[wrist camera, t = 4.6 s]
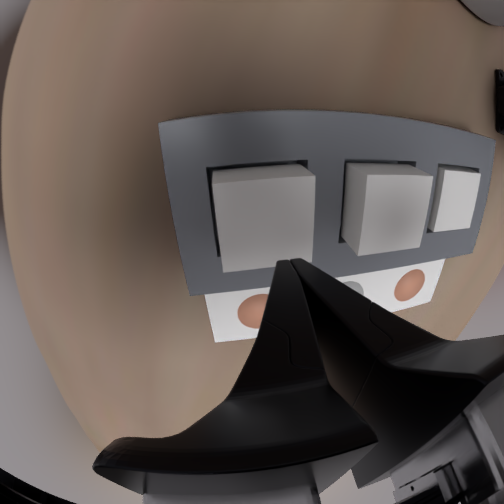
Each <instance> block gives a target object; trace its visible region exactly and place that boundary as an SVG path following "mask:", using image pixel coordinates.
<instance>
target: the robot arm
mask: <svg viewBox="0 0 504 504" xmlns="http://www.w3.org/2000/svg"><path fill="white" fill-rule="evenodd" d="M496 84H497V120H496V130H497V132H498V133H501V134H503V135H504V72H503V71H502V70H499V69H497V70H496ZM371 302H372V301H371V300H370V299H368V298H367V297H365V296H363V295H362V294H360V293H358V292H357V291H355V290H354V289H352V288H350V287H349V286H347V285H345V284H344V283H342V282H340V281H339V280H337V279H336V278H334V277H332V276H331V275H329V274H327V273H326V272H324V271H322V270H321V269H319V268H317V267H316V266H314V265H312V264H311V263H309V262H307V261H306V260H304V259H302V258H295V259H290V260H288V259H286V260H278V261H277V262H276V266H275V270H274V274H273V278H272V282H271V286H270V290H269V294H268V297H267V301H266V305H265V309H264V313H263V317H262V321H261V324H260V328H259V331H258V334H257V337H256V340H255V343H254V345H253V347H252V350H251V352H250V354H249V356H248V358H247V360H246V362H245V365H244V367H243V369H242V371H241V373H240V375H239V377H238V378H237V380H236V382H235V384H234V386H233V388H232V390H231V391H230V393H229V395H228V396H227V397H226V399H225V400H224V401H223V402H222V403H221V404H219V405H218V406H217V407H215V408H214V409H213V410H212V411H210V412H209V413H208V414H206V415H205V416H204V417H202V418H201V419H200V420H198V421H197V422H196V423H194V424H193V425H192V426H190V427H189V428H187V429H186V430H184V431H183V432H181V433H179V434H176V435H173V436H169V437H164V438H142V437H122V438H119V439H116V440H114V441H113V442H112V443H110V444H109V445H108V446H107V447H106V448H105V449H103V450H102V452H101V453H100V454H99V455H98V456H97V458H96V460H95V462H94V463H93V466H92V467H93V470H94V471H95V472H96V473H97V474H99V475H100V476H103V477H104V478H106V479H108V480H110V481H112V482H114V483H117V484H118V485H121V486H123V487H125V488H127V489H129V490H132V491H134V492H137V493H139V494H141V495H143V504H321V501H320V497H319V494H320V493H321V492H323V491H324V490H325V489H326V488H328V487H329V486H330V485H331V484H333V483H334V482H335V481H337V480H338V479H339V478H340V477H341V476H343V475H344V474H345V473H346V472H347V471H348V470H350V469H351V470H352V473H353V476H354V478H355V482H356V484H357V487H358V489H359V488H362V487H365V486H367V485H370V484H373V483H375V482H378V481H381V480H383V479H385V478H388V477H390V476H391V479H392V481H393V484H394V487H395V491H393V494H394V497H395V500H396V503H395V504H458V503H459V502H461V504H504V335H499V336H493V337H486V338H480V339H471V340H463V341H450V340H446V339H442V338H440V337H438V336H436V335H434V334H432V333H430V332H428V331H426V330H424V329H422V328H420V327H418V326H416V325H414V324H412V323H410V322H408V321H406V320H404V319H402V318H400V317H399V316H397V315H395V314H393V313H391V312H390V311H388V310H386V309H385V308H383V307H381V306H380V305H378V304H376V303H375V302H372V303H371ZM0 504H76V503H73V502H70V501H67V500H64V499H62V498H59V497H57V496H54V495H52V494H49V493H47V492H44V491H42V490H40V489H38V488H36V487H34V486H32V485H30V484H28V483H26V482H24V481H22V480H20V479H18V478H16V477H14V476H13V475H11V474H10V473H8V472H6V471H4V470H3V469H1V468H0Z"/></svg>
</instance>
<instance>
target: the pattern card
mask: <svg viewBox="0 0 504 504" xmlns="http://www.w3.org/2000/svg"><path fill="white" fill-rule="evenodd" d="M444 261H445V259H441V260H436V261H431V262H425V263H420V264H415V265H409V266H404V267H398V268H393V269H387V270H381V271H375V272H369V273H363V274H357V275H350V276H344V277H338V278H336V279H337V280H339V281H340V282H342V283H344V284H345V285H347V286H349V287H350V288H352V289H354V290H355V291H357V292H358V293H360V294H362V295H363V296H365V297H367V298H368V299H370V300H371V301H372V302H375V303H376V304H378V305H380V306H381V307H383V308H385V309H386V310H388V311H390V312H394V311H398V310H402V309H406V308H409V307H413V306H417V305H420V304H424V303H427V302H430V300H431V298H432V295H433V293H434V290H435V287H436V285H437V282H438V279H439V276H440V273H441V270H442V267H443V264H444ZM269 290H270V287H266V288H258V289H249V290H241V291H232V292H223V293H214V294H205V299H206V304H207V308H208V313H209V318H210V322H211V327H212V331H213V335H214V340H215V342H224V341H233V340H242V339H250V338H256V337H257V334H258V331H259V328H260V324H261V321H262V317H263V313H264V309H265V305H266V301H267V297H268V294H269ZM372 302H371V303H372Z"/></svg>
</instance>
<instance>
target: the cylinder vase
mask: <svg viewBox="0 0 504 504" xmlns="http://www.w3.org/2000/svg"><path fill="white" fill-rule="evenodd" d="M461 1H462V2H463V3H464V4H465V5H466V6H467V7H468V8H469V9H470V10H471V11H472V12H473V13H474V14H476V15H477V16H478V17H480V18H481V19H482V20H484V21H486V22H487V23H490V24H492V25H495V26H504V0H461Z"/></svg>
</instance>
